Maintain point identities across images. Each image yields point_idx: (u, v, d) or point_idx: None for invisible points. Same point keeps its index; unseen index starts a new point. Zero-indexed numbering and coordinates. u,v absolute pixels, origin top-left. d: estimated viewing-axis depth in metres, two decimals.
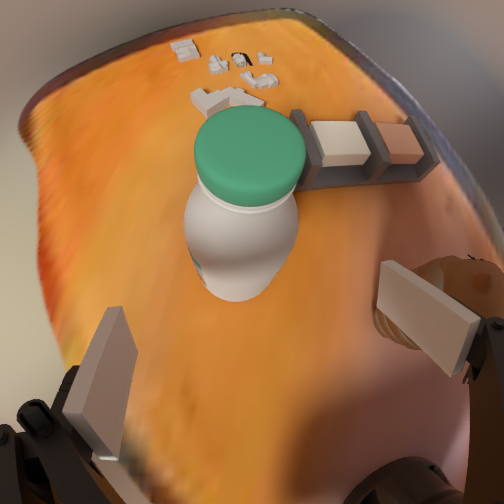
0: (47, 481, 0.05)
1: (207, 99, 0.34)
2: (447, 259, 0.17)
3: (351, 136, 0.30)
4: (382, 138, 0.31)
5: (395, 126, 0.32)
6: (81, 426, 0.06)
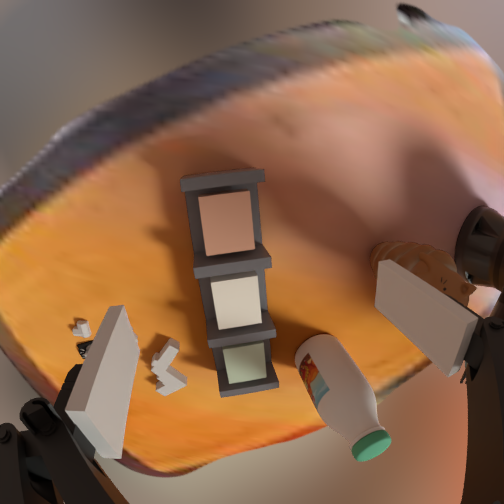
0: (49, 480, 0.05)
1: (172, 385, 0.38)
2: None
3: (235, 293, 0.31)
4: (231, 251, 0.30)
5: (207, 224, 0.28)
6: (84, 424, 0.06)
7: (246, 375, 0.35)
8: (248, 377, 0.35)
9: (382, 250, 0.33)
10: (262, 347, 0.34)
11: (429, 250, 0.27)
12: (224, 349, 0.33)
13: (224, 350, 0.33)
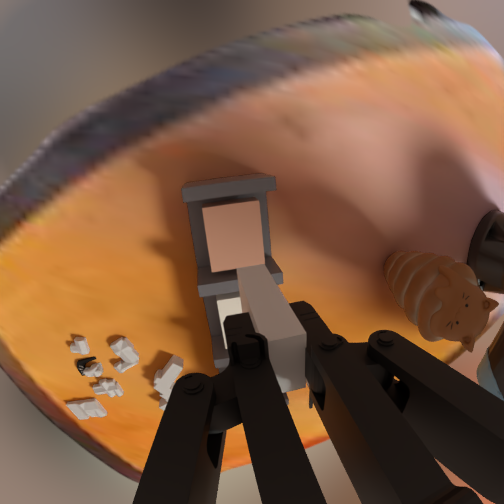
0: (219, 439, 0.07)
1: None
2: (434, 328, 0.23)
3: None
4: None
5: (212, 238, 0.25)
6: (274, 355, 0.09)
7: None
8: None
9: (398, 261, 0.30)
10: None
11: (449, 262, 0.24)
12: None
13: None
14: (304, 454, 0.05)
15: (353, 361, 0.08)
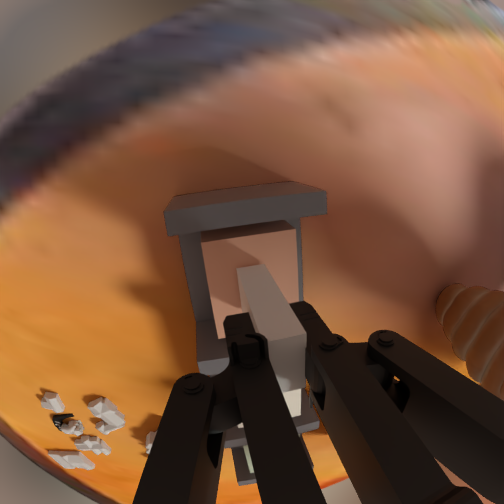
0: (219, 439, 0.07)
1: None
2: None
3: None
4: None
5: (218, 290, 0.16)
6: (274, 355, 0.09)
7: None
8: None
9: (461, 301, 0.20)
10: None
11: None
12: (245, 445, 0.20)
13: (245, 446, 0.20)
14: (304, 454, 0.05)
15: (353, 361, 0.08)
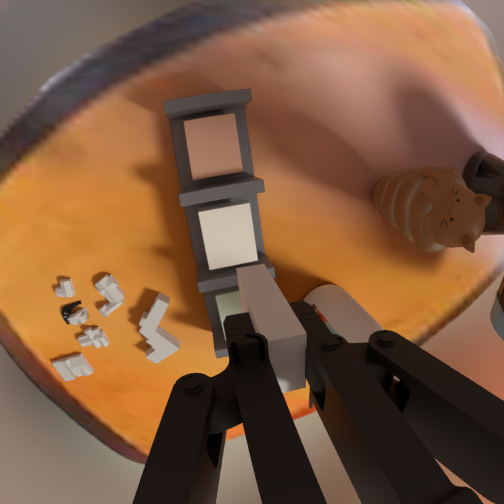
0: (219, 439, 0.07)
1: (163, 349, 0.35)
2: (428, 232, 0.22)
3: (225, 224, 0.28)
4: None
5: (192, 147, 0.26)
6: (274, 355, 0.09)
7: None
8: None
9: (384, 180, 0.30)
10: None
11: (434, 169, 0.24)
12: (217, 295, 0.30)
13: (217, 296, 0.30)
14: (304, 454, 0.05)
15: (353, 361, 0.08)
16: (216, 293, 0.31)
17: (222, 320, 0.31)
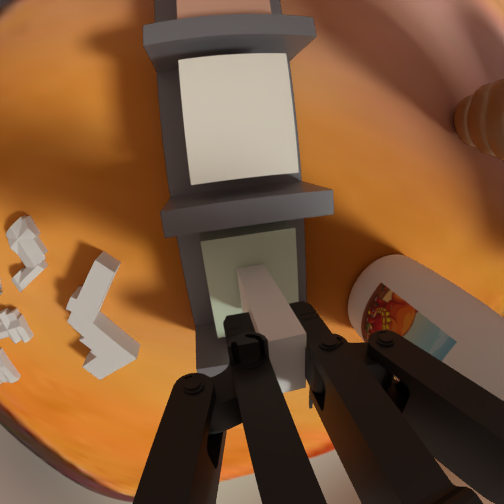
0: (219, 439, 0.07)
1: (109, 357, 0.18)
2: None
3: (234, 86, 0.11)
4: None
5: None
6: (274, 355, 0.09)
7: None
8: None
9: (478, 90, 0.13)
10: (292, 240, 0.15)
11: None
12: (204, 241, 0.15)
13: (204, 243, 0.15)
14: (304, 454, 0.05)
15: (353, 361, 0.08)
16: (203, 238, 0.15)
17: (213, 296, 0.16)
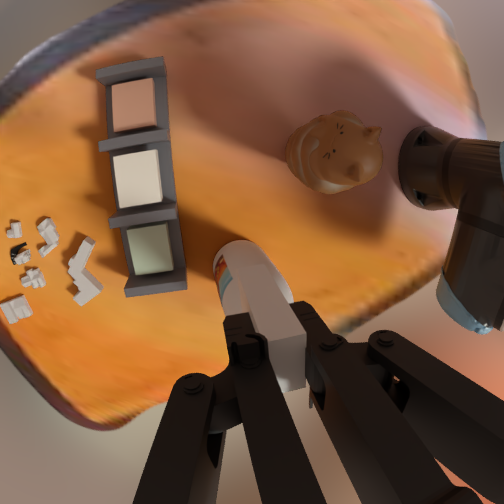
0: (219, 439, 0.07)
1: (87, 291, 0.36)
2: (314, 168, 0.25)
3: (134, 167, 0.29)
4: (134, 128, 0.29)
5: (116, 105, 0.27)
6: (274, 355, 0.09)
7: (151, 265, 0.35)
8: (154, 268, 0.35)
9: (291, 135, 0.32)
10: (164, 229, 0.34)
11: None
12: (128, 230, 0.33)
13: (128, 231, 0.33)
14: (304, 454, 0.05)
15: (353, 361, 0.08)
16: (128, 229, 0.33)
17: (132, 254, 0.34)
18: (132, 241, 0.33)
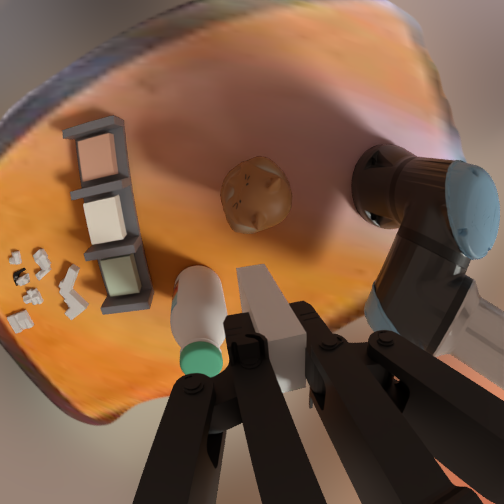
0: (219, 439, 0.07)
1: (75, 308, 0.42)
2: (230, 214, 0.30)
3: (99, 212, 0.35)
4: (98, 177, 0.35)
5: (82, 159, 0.34)
6: (274, 355, 0.09)
7: (122, 288, 0.41)
8: (124, 291, 0.41)
9: None
10: (129, 260, 0.40)
11: None
12: (101, 261, 0.39)
13: (101, 261, 0.39)
14: (304, 454, 0.05)
15: (353, 361, 0.08)
16: (101, 259, 0.39)
17: (106, 280, 0.40)
18: (105, 269, 0.39)
